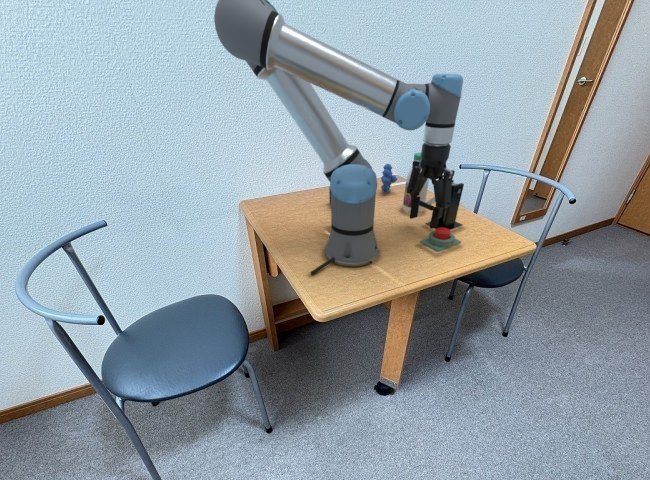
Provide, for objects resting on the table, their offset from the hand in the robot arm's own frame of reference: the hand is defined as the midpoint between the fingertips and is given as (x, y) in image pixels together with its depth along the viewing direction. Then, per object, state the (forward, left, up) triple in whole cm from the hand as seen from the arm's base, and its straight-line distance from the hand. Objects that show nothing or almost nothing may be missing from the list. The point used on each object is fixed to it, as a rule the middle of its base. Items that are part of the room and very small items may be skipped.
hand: (423, 222), depth 102 cm
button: (-1, -9, -1) cm, 9 cm away
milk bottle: (+11, +16, -5) cm, 20 cm away
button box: (-1, -8, -4) cm, 10 cm away
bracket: (+10, 0, -4) cm, 11 cm away
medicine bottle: (-8, +35, -5) cm, 36 cm away
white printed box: (+12, +7, +1) cm, 14 cm away
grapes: (+16, +36, -5) cm, 39 cm away
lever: (+6, 0, +6) cm, 8 cm away
